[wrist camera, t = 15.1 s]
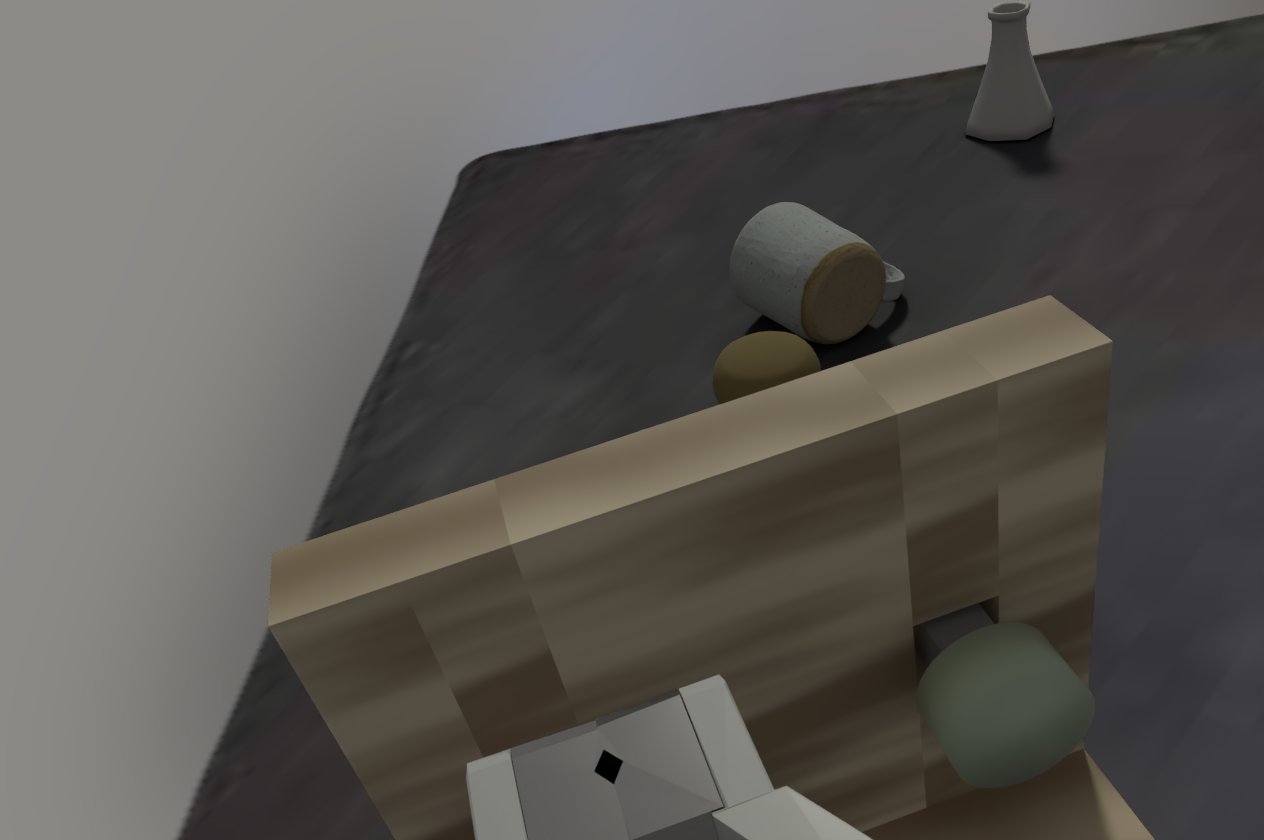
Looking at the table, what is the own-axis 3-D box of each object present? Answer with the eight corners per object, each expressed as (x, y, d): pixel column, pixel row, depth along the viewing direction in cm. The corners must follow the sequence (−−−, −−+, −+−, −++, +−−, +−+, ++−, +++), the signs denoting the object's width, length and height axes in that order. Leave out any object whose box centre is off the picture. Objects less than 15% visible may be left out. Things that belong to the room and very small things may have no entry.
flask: (987, 107, 93) (986, -8, 87) (1069, 113, 88) (1073, -8, 83) (949, 140, 89) (945, 22, 83) (1032, 148, 85) (1034, 23, 79)
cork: (765, 473, 59) (737, 306, 52) (866, 497, 55) (848, 323, 49) (712, 543, 55) (674, 373, 49) (816, 573, 52) (790, 395, 45)
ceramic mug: (811, 369, 66) (799, 262, 62) (735, 325, 72) (719, 224, 68) (935, 303, 69) (932, 197, 65) (852, 266, 76) (845, 167, 71)
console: (1159, 873, 37) (1229, 426, 25) (508, 1129, 34) (261, 765, 23) (1004, 670, 45) (1004, 262, 33) (470, 866, 43) (274, 500, 31)
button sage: (1091, 756, 32) (1099, 658, 30) (956, 807, 32) (952, 712, 29) (971, 602, 38) (969, 509, 36) (856, 644, 38) (845, 553, 35)
